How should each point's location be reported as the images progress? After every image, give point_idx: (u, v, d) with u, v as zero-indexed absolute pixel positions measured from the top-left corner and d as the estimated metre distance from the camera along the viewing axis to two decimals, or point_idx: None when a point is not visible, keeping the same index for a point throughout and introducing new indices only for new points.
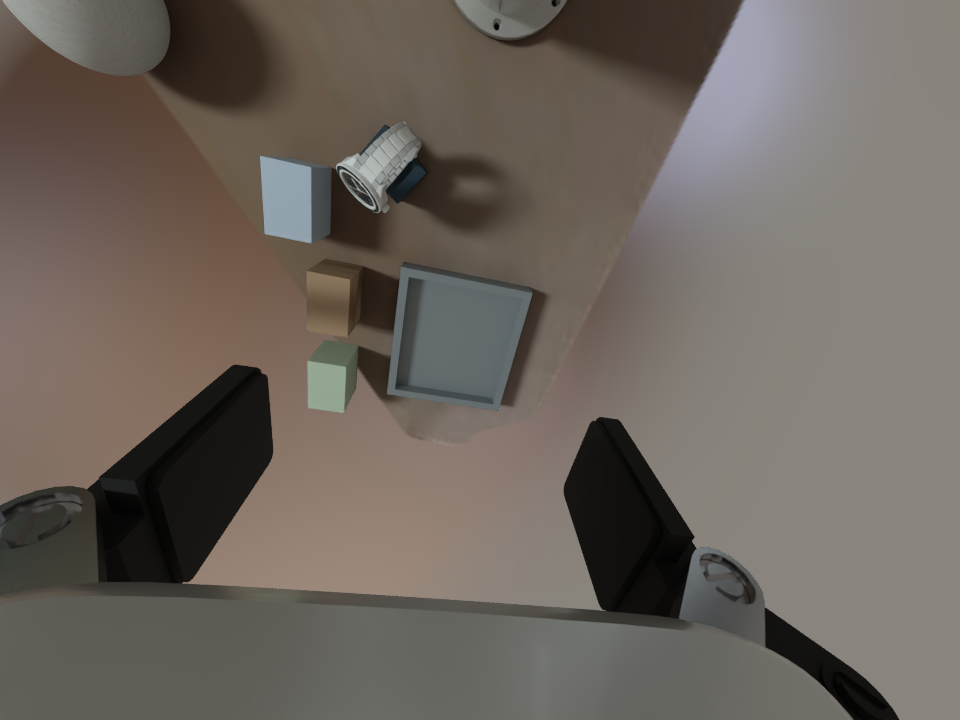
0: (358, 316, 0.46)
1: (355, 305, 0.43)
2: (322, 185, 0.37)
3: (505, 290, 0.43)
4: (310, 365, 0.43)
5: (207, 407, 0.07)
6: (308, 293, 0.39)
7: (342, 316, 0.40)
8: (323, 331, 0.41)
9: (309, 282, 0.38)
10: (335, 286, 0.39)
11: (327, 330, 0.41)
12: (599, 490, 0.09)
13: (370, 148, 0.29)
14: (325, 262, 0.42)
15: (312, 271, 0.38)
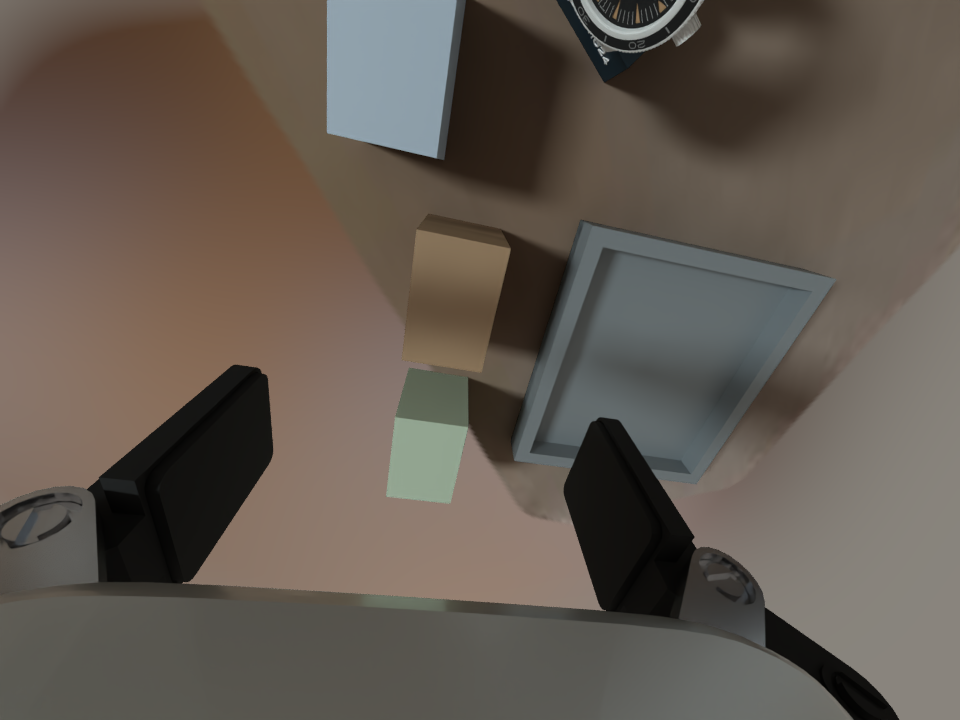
0: None
1: None
2: (459, 20, 0.15)
3: (785, 274, 0.22)
4: (399, 425, 0.22)
5: (207, 407, 0.07)
6: (414, 280, 0.18)
7: (478, 330, 0.19)
8: (434, 361, 0.20)
9: (419, 255, 0.17)
10: (474, 264, 0.17)
11: (443, 359, 0.20)
12: (599, 490, 0.09)
13: None
14: (434, 218, 0.20)
15: (427, 230, 0.17)
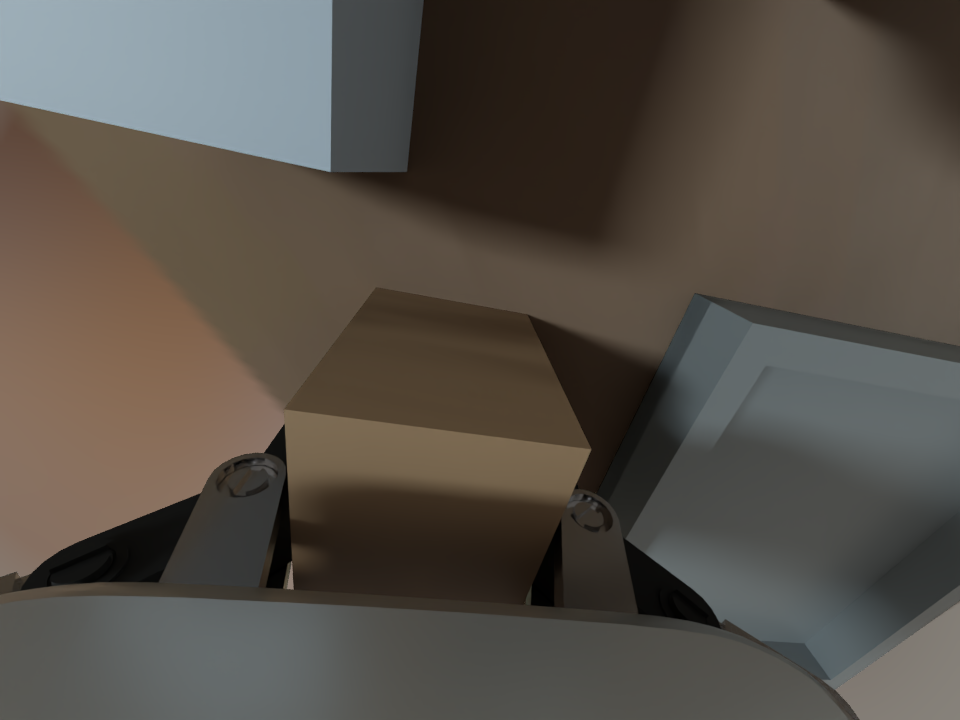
0: None
1: None
2: None
3: None
4: None
5: None
6: (300, 527, 0.06)
7: None
8: None
9: (308, 475, 0.05)
10: (478, 487, 0.06)
11: None
12: None
13: None
14: (382, 309, 0.09)
15: (327, 404, 0.05)
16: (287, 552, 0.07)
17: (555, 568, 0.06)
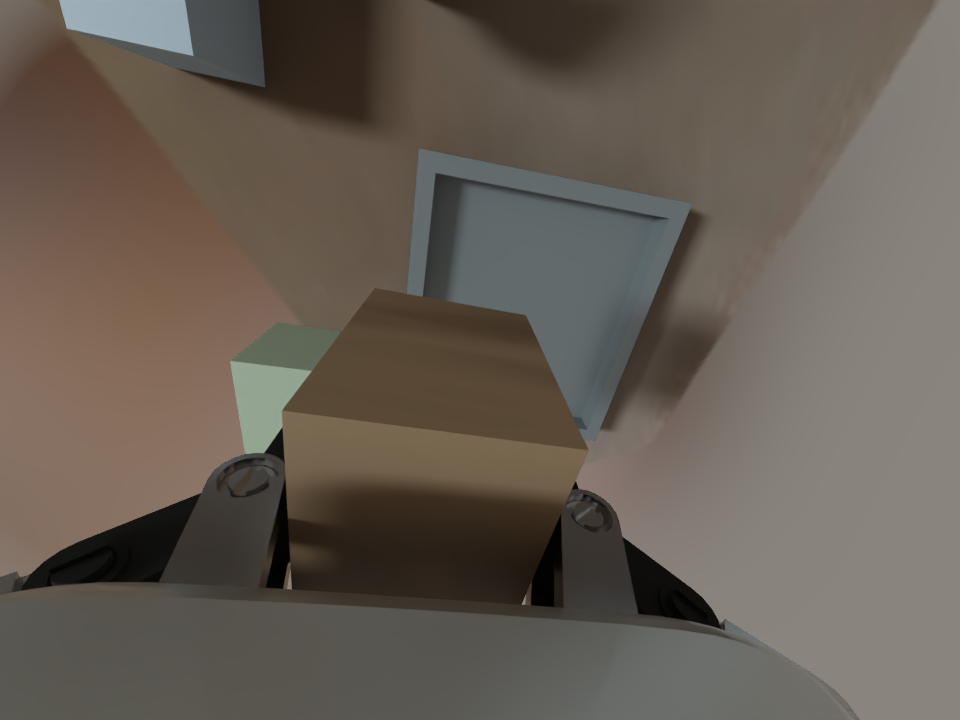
0: None
1: None
2: None
3: (637, 199, 0.21)
4: (237, 370, 0.21)
5: None
6: (298, 528, 0.06)
7: None
8: None
9: (306, 475, 0.05)
10: (475, 488, 0.06)
11: None
12: None
13: None
14: (381, 310, 0.09)
15: (325, 405, 0.05)
16: (287, 552, 0.07)
17: (555, 568, 0.06)
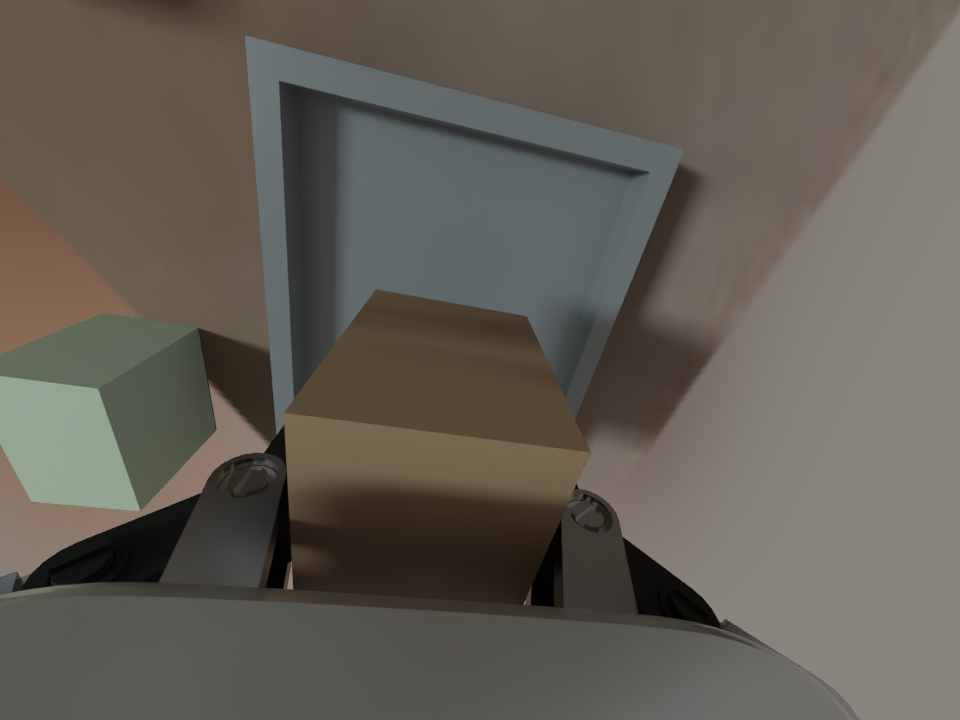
0: None
1: None
2: None
3: (600, 138, 0.14)
4: None
5: None
6: (300, 529, 0.06)
7: None
8: None
9: (307, 477, 0.05)
10: (478, 489, 0.06)
11: None
12: None
13: None
14: (382, 311, 0.09)
15: (327, 407, 0.05)
16: (287, 552, 0.07)
17: (555, 568, 0.06)
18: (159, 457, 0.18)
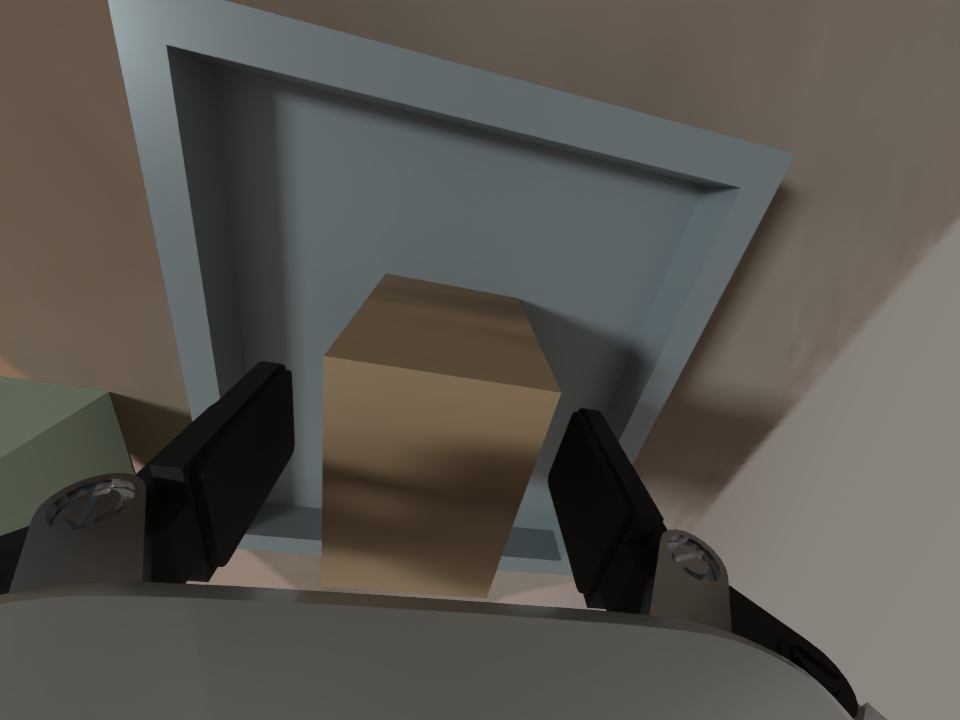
0: None
1: None
2: None
3: (671, 137, 0.09)
4: None
5: (240, 401, 0.08)
6: (330, 457, 0.07)
7: (481, 537, 0.09)
8: (390, 585, 0.10)
9: (338, 411, 0.07)
10: (472, 424, 0.07)
11: (407, 582, 0.10)
12: (579, 478, 0.10)
13: None
14: (392, 290, 0.10)
15: (355, 354, 0.07)
16: None
17: (644, 599, 0.06)
18: None
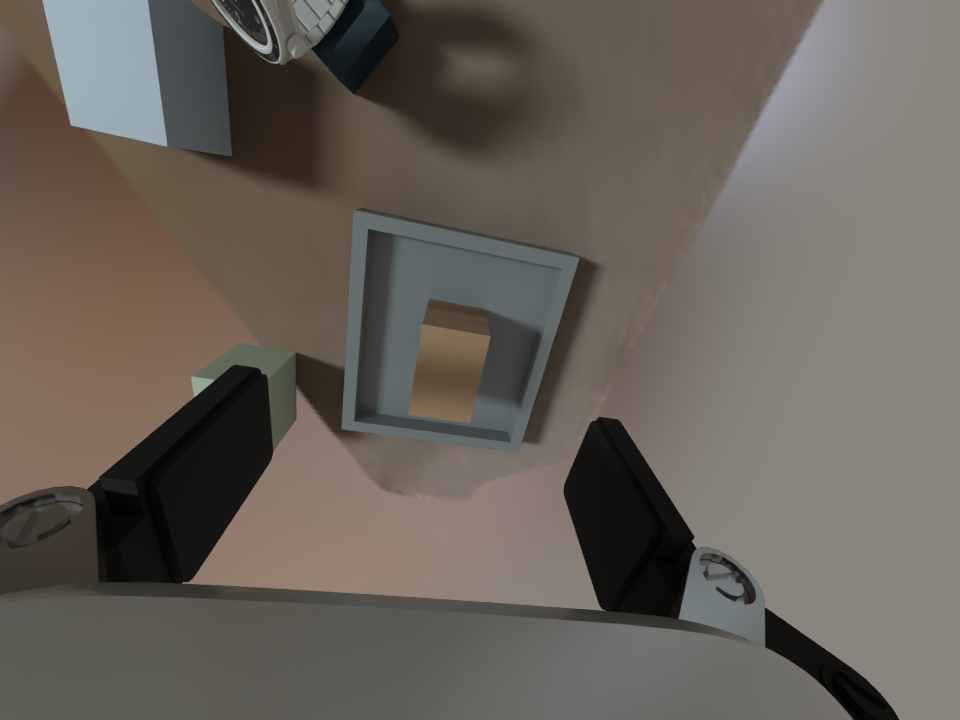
0: None
1: None
2: (193, 41, 0.19)
3: (534, 253, 0.26)
4: (197, 384, 0.25)
5: (207, 407, 0.07)
6: (419, 358, 0.24)
7: (467, 392, 0.25)
8: (433, 415, 0.26)
9: (424, 341, 0.23)
10: (464, 346, 0.24)
11: (440, 413, 0.26)
12: (599, 490, 0.09)
13: None
14: (434, 305, 0.27)
15: (430, 324, 0.23)
16: None
17: (671, 614, 0.06)
18: (274, 431, 0.29)
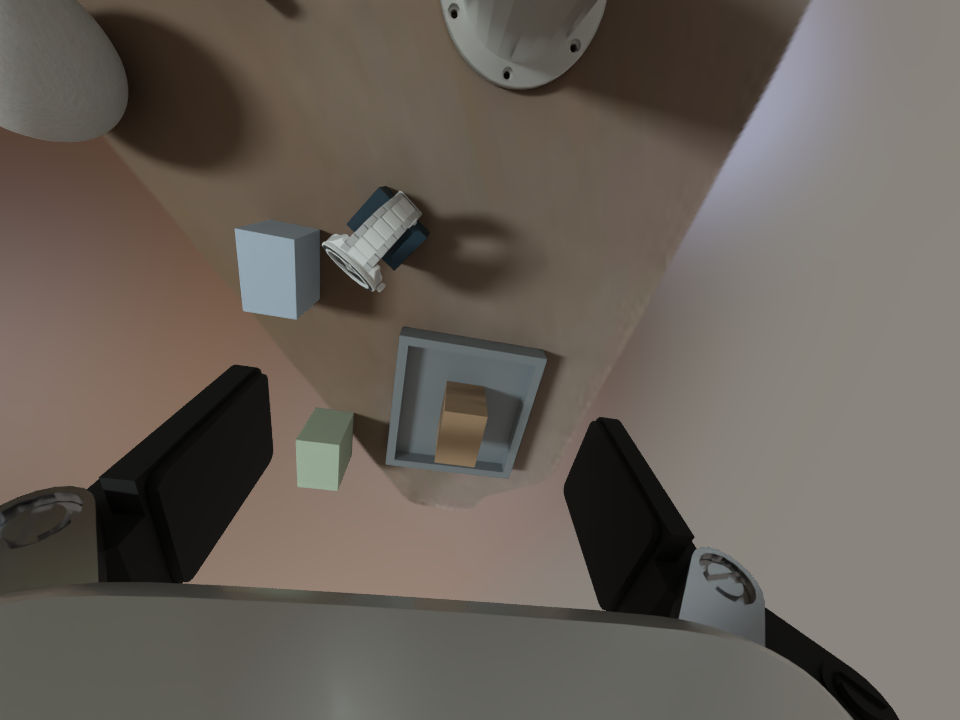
0: None
1: None
2: (308, 253, 0.32)
3: (516, 357, 0.39)
4: (299, 444, 0.38)
5: (207, 407, 0.07)
6: (442, 429, 0.37)
7: (473, 449, 0.39)
8: (450, 462, 0.39)
9: (445, 420, 0.37)
10: (471, 423, 0.37)
11: (455, 461, 0.39)
12: (599, 490, 0.09)
13: (360, 229, 0.24)
14: (450, 388, 0.40)
15: (449, 410, 0.36)
16: None
17: (671, 614, 0.06)
18: (342, 468, 0.43)
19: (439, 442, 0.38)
